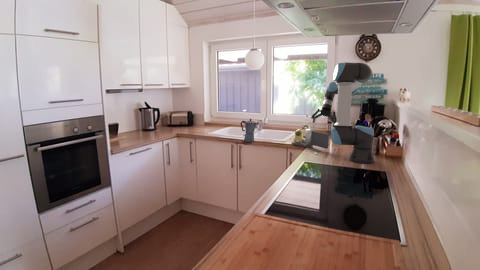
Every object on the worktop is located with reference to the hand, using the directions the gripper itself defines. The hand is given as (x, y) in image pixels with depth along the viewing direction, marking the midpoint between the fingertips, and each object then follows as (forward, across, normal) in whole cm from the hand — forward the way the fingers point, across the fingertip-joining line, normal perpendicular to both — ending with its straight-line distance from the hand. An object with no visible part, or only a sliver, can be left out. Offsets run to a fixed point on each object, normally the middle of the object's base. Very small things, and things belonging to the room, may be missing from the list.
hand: (322, 128), depth 214 cm
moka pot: (+14, +57, -27) cm, 64 cm away
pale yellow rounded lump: (+6, +15, -23) cm, 28 cm away
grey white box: (+13, +1, -11) cm, 17 cm away
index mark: (+24, +1, 0) cm, 24 cm away
